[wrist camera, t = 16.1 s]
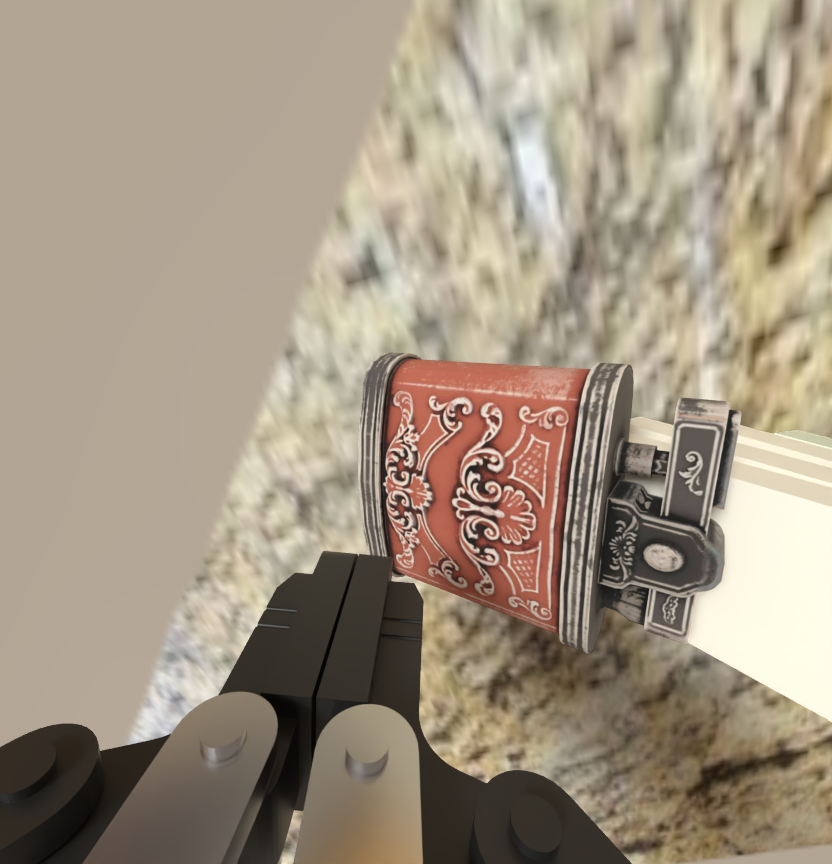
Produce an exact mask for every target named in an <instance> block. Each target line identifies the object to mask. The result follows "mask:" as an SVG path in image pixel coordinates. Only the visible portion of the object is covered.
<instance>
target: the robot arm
mask: <svg viewBox="0 0 832 864" xmlns="http://www.w3.org/2000/svg"><path fill="white" fill-rule="evenodd" d="M392 563H393V558H392V557H386V556H375V555H364V554H359V556H358V555H357V554H351V553H340V552H329V551H323V553H322V554H321V557H320V559H319V561H318V563H317V566H316V568H315V570H314V572H313V574H303V573H294V574H293V575H292V576H291V577H290V578H288V579H287V580H286V581H285V582H283V583H282V584H281V585H280V586H278V587H277V589H276V590H275V592H274V594H273V596H272V598H271V600H270V601H269V603H268V605H267V609H266V610H265V611H264V613H263V614H262V616H261V618H260V620H259V622H258V626H257V627H255V629H254V631H253V633H252V635H251V637H250V638H249V640H248V642H247V644H246V646H245V648H244V649H243V651H242V653H241V655H240V657H239V659H238V660H237V662H236V664H235V666H234V668H233V670H232V672H231V673H230V675H229V677H228V679H227V681H226V683H225V684H224V686H223V688H222V690H221V692H220V693H219V695H218V696H216V697H213V698H211V699H209V700H207V701H205V702H203V703H202V704H200V705H198V706H197V707H196V708H194V709H193V710H192V711H190V712H189V713H188V714H187V715H186V716H185V717H184V718H183V719H182V720H181V721H180V723H179V724H178V725H177V727H176V728H175V729H174V731H173V732H172V734H169V735H166V736H164V737H161V738H157V739H154V740H150V741H145V742H140V743H136V744H131V745H126V746H122V747H117V748H112V749H107V750H103V751H100V749H99V744H98V741H97V738H96V736H95V735H94V733H93V732H92V731H91V730H90V729H88V728H87V727H84V726H82V725H78V724H57V725H51V726H47V727H44V728H40V729H38V730H35V731H32V732H29V733H27V734H25V735H23V736H21V737H19V738H17V739H15V740H13V741H11V742H9V743H7V744H5V745H4V746H2V747H0V864H281V860H282V851H283V848H284V844H285V840H286V837H287V833H288V830H289V826H290V822H291V819H292V815H293V811H294V810H298V811H303V815H302V821H301V826H300V831H299V836H298V842H297V847H296V852H295V857H294V863H293V864H632V863H631V862H630V861H629V860H628V859H627V858H626V857H625V856H624V855H623V854H622V853H621V851H620V850H619V849H618V848H617V847H616V846H615V845H614V844H613V843H612V842H611V841H610V840H609V838H608V837H607V836H606V835H605V834H604V833H603V832H602V831H601V830H600V829H599V828H598V826H597V825H596V824H595V823H594V822H593V821H592V820H591V819H590V818H589V817H588V816H587V814H586V813H585V812H584V811H583V810H582V809H581V808H580V807H579V806H578V805H577V804H576V802H575V801H574V800H573V799H572V798H571V797H570V796H569V795H568V794H567V793H566V792H565V791H564V790H563V789H562V788H560V787H559V786H558V785H556V784H555V783H554V782H552V781H551V780H549V779H547V778H545V777H544V776H541V775H539V774H536V773H533V772H529V771H522V770H513V771H507V772H504V773H501V774H499V775H497V776H495V777H494V778H492V779H491V780H490V781H489V782H488V783H484V782H482V781H480V780H478V779H476V778H474V777H472V776H469V775H467V774H465V773H463V772H461V771H459V770H457V769H455V768H453V767H452V766H450V765H449V764H447V763H446V762H445V761H443V760H442V759H441V758H440V757H439V756H438V755H437V754H436V753H435V752H434V751H433V750H432V748H431V747H430V746H429V744H428V742H427V741H426V739H425V737H424V735H423V732H422V729H421V726H420V721H419V695H420V672H421V648H422V622H423V599H422V597H421V595H420V593H419V591H418V590H417V588H416V586H415V584H414V583H404V582H393V581H391V579H392Z"/></svg>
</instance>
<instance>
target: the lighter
mask: <svg viewBox="0 0 832 864" xmlns="http://www.w3.org/2000/svg"><path fill="white" fill-rule="evenodd" d="M632 398H633V370H632V366H631V365H629V364H609V363H596V364H595V365H594V366H593V367H592V368H591V369H574V368H556V367H539V366H522V365H504V364H487V363H469V362H452V361H435V360H422V359H421V358H420V357H418V356H417V355H414V354H406V353H385V354H382V355H379V356H378V357H377V358H376V359H375V360H374V361H373V362H372V363H371V364H370V366H369V368H368V370H367V372H366V374H365V378H364V383H363V391H362V402H361V412H360V423H359V445H358V485H359V496H360V507H361V518H362V526H363V531H364V536H365V542H366V547H367V552H368V555H375V556H386V557H392V558H393V563H392V576H394V577H403V576H405V575H407V576H409V577H412V578H415V579H417V580H420V581H422V582H425V583H427V584H430V585H432V586H435V587H438V588H440V589H443V590H445V591H448V592H450V593H453V594H456V595H458V596H461V597H463V598H466V599H468V600H471V601H474V602H476V603H479V604H481V605H484V606H486V607H489V608H491V609H494V610H497V611H499V612H502V613H504V614H507V615H509V616H512V617H515V618H517V619H520V620H522V621H525V622H527V623H530V624H532V625H535V626H538V627H540V628H543V629H545V630H548V631H550V632H553V633H556V634H558V635H559V638H560V641H561V643H562V644H565V645H567V646H570V647H572V648H575V649H577V650H580V651H582V652H585V653H587V654H590V653H591V652H592V651H593V649H594V647H595V645H596V642H597V639H598V636H599V633H600V630H601V626H602V623H603V619H604V614H605V610H606V607H607V608H610V609H613V610H616V611H617V612H619V613H620V614H621V615H623V616H624V617H626V618H627V619H628V620H630V621H633V622H636V623H638V624H641V625H644V630H645V631H648V632H651V633H654V634H657V635H660V636H663V637H666V638H669V639H671V640H674V641H677V642H680V643H683V644H686V645H687V643H688V638H689V633H690V627H691V622H692V616H693V610H694V605H695V599H696V594H697V592H704V591H709V590H711V589H714V588H715V587H716V586H717V585H718V584H719V583H720V582H721V580H722V575H723V570H724V564H725V536H724V533H723V531H722V528H721V527H720V525H719V524H718V523H717V522H716V521H714V520H713V519H711V518H710V515H711V510H712V507H713V508H718V509H723V510H724V507H725V502H726V497H727V491H728V486H729V481H730V475H731V470H732V464H733V459H734V454H735V448H736V443H737V438H738V432H739V427H740V421H741V411H736V410H729V406H730V402H728V401H716V400H703V399H691V398H679V400H678V403H677V408H676V413H675V420H674V426H673V433H672V440H671V447H670V452H668V451H661V450H657V446H654V445H647V444H640V443H632V442H629V431H630V420H631V409H632ZM625 474H630V475H635V476H641V477H647V478H652V475H659V476H665V477H666V480H665V487H664V494H663V497H659V496H655V495H652V494H648V492H647V491H646V489H645V488H644V486H643V485H641V484H638V483H635V482H630V481H624V478H625Z"/></svg>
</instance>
